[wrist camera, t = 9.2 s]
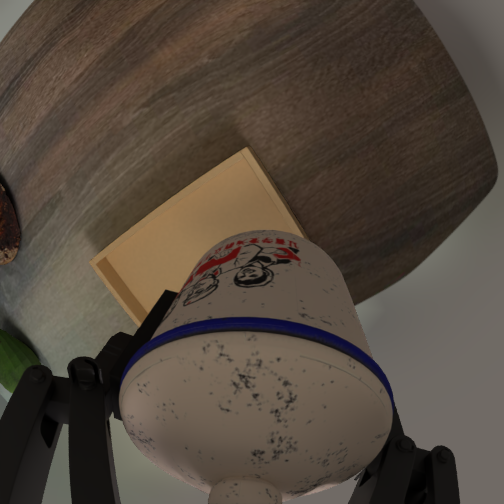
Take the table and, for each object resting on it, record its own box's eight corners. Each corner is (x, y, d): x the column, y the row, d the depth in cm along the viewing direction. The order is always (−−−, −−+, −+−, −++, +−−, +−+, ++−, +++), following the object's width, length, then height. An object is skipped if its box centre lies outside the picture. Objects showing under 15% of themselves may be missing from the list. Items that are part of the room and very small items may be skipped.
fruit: (-3, 324, 47) (-31, 350, 38) (14, 311, 45) (-19, 339, 36) (39, 381, 52) (16, 410, 42) (60, 374, 49) (35, 407, 40)
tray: (250, 145, 32) (246, 146, 29) (331, 277, 36) (335, 290, 33) (100, 252, 38) (88, 261, 35) (178, 352, 43) (172, 365, 40)
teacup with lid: (290, 185, 14) (319, 341, 4) (376, 321, 17) (442, 506, 6) (121, 304, 18) (10, 450, 7) (214, 400, 20) (176, 552, 9)
